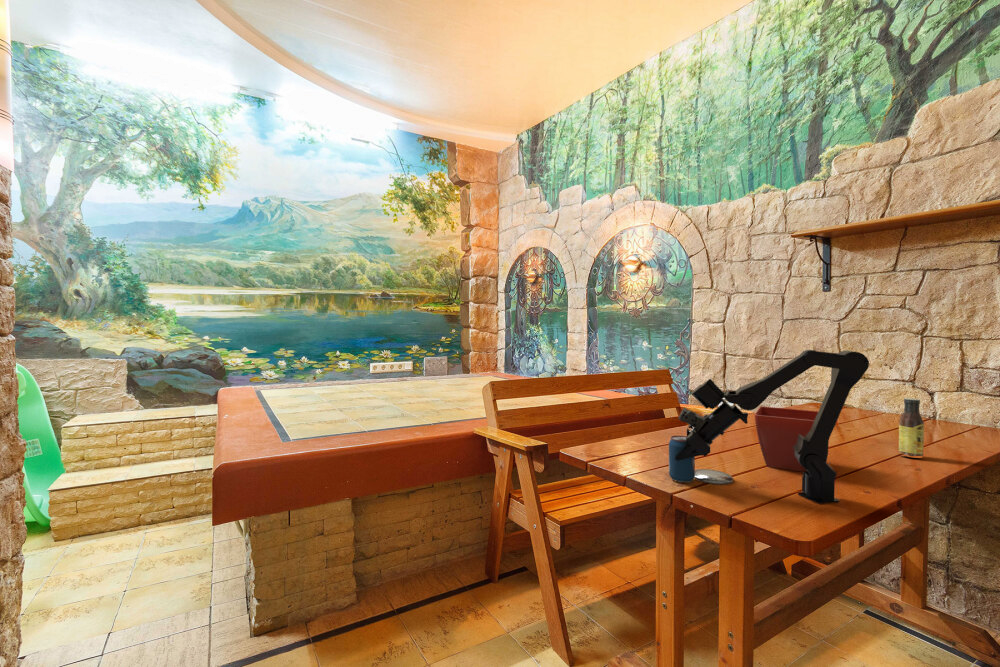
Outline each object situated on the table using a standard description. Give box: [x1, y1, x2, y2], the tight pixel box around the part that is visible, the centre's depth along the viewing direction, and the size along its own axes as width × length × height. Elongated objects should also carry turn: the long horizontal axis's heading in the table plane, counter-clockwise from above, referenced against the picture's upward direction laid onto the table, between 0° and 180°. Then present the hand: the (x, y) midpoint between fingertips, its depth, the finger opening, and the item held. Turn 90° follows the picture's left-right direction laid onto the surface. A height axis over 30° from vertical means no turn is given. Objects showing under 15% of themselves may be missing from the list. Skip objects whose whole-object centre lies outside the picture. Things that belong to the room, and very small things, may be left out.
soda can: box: [668, 435, 696, 483], centre depth 129 cm, size 7×7×12 cm
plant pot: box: [754, 406, 819, 473], centre depth 143 cm, size 19×19×17 cm
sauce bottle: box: [898, 398, 925, 456], centre depth 152 cm, size 7×6×20 cm
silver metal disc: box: [694, 468, 734, 486], centre depth 131 cm, size 11×11×1 cm
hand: (676, 456), depth 129 cm, fingers closed on soda can, 7 cm apart
